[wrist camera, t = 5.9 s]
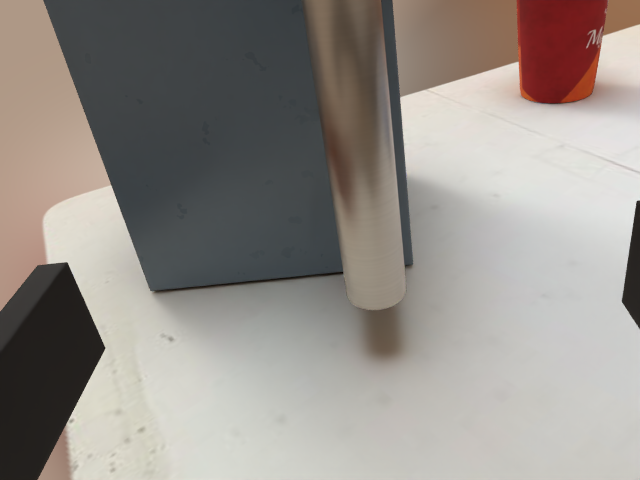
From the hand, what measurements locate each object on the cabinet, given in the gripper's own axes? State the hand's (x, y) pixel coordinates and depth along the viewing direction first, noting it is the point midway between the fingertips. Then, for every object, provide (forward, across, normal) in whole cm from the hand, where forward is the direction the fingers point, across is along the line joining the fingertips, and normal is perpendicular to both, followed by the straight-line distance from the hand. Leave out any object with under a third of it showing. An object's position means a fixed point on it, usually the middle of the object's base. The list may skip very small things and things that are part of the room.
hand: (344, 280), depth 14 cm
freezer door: (+12, -5, -10) cm, 17 cm away
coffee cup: (+40, +17, -11) cm, 45 cm away
